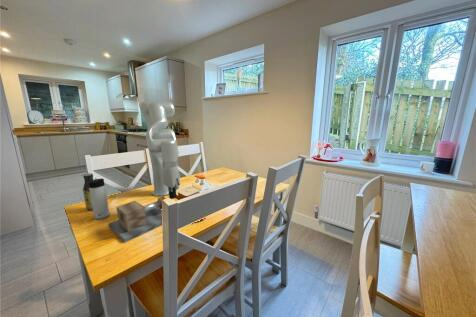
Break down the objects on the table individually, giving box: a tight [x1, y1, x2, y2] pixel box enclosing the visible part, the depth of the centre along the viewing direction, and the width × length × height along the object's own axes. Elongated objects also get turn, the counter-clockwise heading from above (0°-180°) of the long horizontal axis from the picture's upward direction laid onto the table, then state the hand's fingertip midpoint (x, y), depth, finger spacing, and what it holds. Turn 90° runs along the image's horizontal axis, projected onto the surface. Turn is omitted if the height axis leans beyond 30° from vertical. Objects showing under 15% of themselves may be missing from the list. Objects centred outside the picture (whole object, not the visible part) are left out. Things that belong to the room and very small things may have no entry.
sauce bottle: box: [82, 172, 94, 212], centre depth 103 cm, size 7×6×20 cm
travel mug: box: [88, 178, 110, 221], centre depth 94 cm, size 6×7×20 cm
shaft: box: [143, 196, 167, 212], centre depth 93 cm, size 14×6×6 cm, turn 141°
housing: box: [107, 200, 163, 243], centre depth 91 cm, size 24×18×10 cm
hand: (172, 197), depth 102 cm, fingers closed
